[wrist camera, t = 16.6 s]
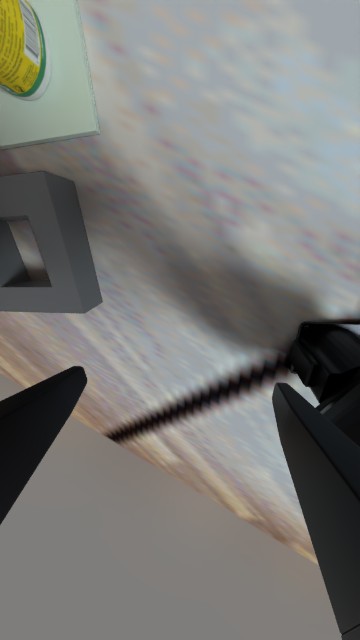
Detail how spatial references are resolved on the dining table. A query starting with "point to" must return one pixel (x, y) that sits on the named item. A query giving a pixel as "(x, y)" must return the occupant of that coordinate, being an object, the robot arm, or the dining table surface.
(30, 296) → the holder
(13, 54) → the supplement bottle
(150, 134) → the dining table surface
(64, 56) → the tile
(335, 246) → the dining table surface
